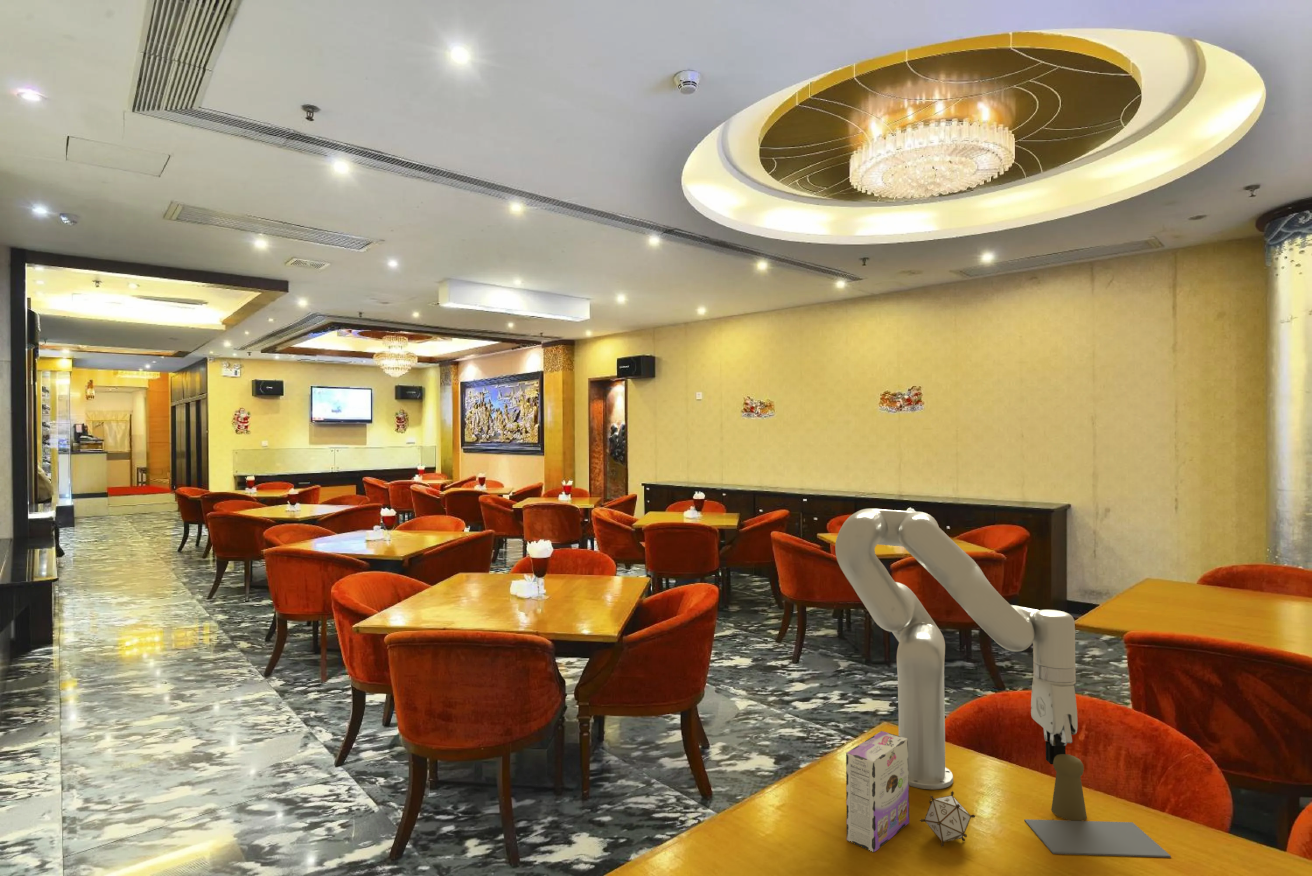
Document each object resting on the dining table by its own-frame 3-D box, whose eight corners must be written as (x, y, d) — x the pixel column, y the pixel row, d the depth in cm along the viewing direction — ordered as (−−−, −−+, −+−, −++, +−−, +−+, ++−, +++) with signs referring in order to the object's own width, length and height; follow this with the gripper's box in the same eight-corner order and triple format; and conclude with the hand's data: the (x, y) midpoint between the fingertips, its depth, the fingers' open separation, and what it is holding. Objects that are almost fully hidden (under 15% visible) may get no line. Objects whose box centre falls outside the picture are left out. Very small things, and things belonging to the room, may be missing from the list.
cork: (1047, 813, 139) (1046, 757, 139) (1055, 802, 143) (1055, 747, 143) (1082, 824, 135) (1082, 766, 135) (1090, 812, 139) (1089, 756, 139)
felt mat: (1052, 853, 125) (1052, 852, 125) (1024, 821, 136) (1024, 819, 136) (1170, 857, 124) (1170, 855, 124) (1132, 824, 135) (1132, 822, 135)
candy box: (881, 813, 139) (881, 729, 139) (910, 824, 135) (909, 738, 135) (845, 840, 130) (844, 750, 130) (874, 853, 125) (873, 760, 126)
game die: (958, 865, 128) (983, 838, 122) (912, 843, 130) (934, 816, 124) (959, 820, 135) (982, 793, 130) (915, 800, 137) (936, 772, 131)
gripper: (1018, 661, 152) (1020, 746, 152) (1054, 684, 137) (1055, 779, 137) (1054, 661, 152) (1055, 747, 151) (1093, 685, 137) (1095, 780, 136)
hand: (1055, 762), depth 144 cm, fingers closed
